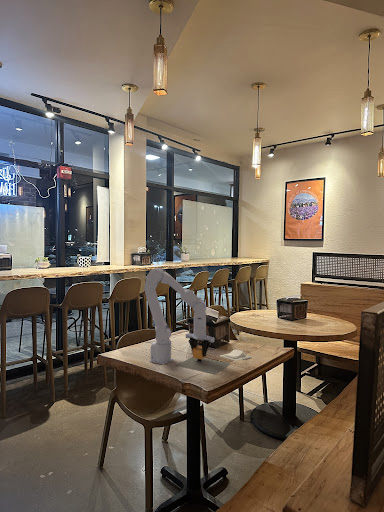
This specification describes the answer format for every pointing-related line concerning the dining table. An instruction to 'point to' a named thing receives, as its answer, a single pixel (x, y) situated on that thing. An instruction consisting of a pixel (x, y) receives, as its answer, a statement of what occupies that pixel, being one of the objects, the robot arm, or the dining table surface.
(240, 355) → the light switch
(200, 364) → the board
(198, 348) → the orange panelled cube
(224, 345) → the dining table surface
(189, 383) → the dining table surface
